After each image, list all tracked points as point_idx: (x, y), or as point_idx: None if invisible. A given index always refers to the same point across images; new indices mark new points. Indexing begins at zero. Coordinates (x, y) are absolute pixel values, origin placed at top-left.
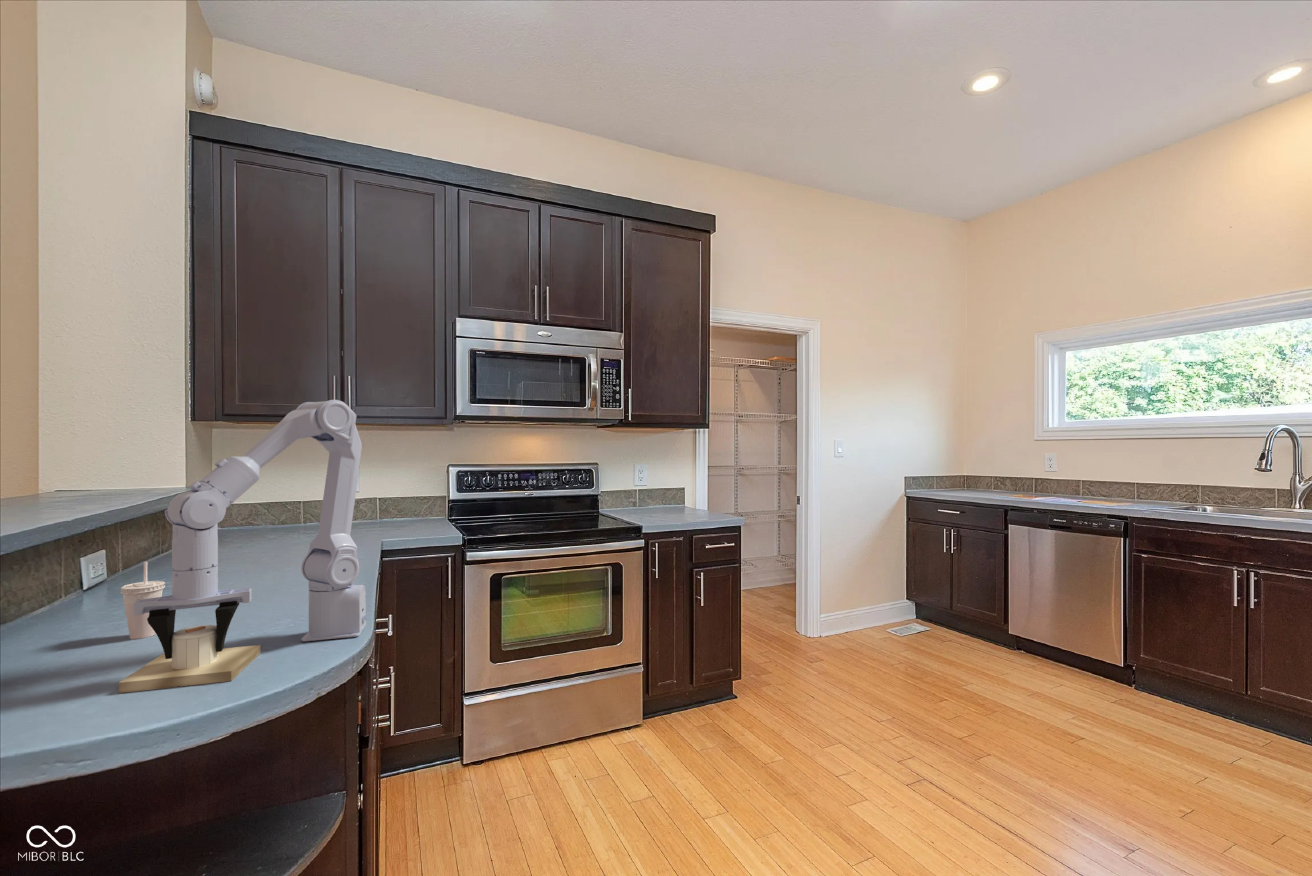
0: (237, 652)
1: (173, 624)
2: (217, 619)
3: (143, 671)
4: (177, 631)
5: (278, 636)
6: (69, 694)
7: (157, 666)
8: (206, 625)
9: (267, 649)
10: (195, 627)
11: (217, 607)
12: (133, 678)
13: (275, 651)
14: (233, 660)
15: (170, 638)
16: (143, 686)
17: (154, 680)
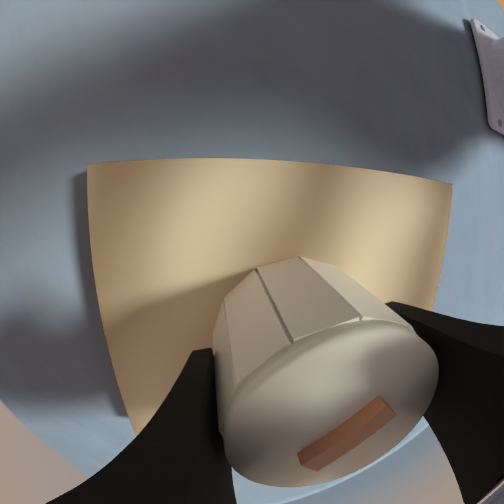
0: (407, 252)
1: (205, 472)
2: (456, 465)
3: (140, 376)
4: (235, 437)
5: (414, 12)
6: (27, 373)
7: (157, 339)
8: (392, 343)
9: (436, 138)
10: (349, 437)
11: (492, 488)
12: None
13: (456, 175)
14: None
15: (222, 452)
16: None
17: None
